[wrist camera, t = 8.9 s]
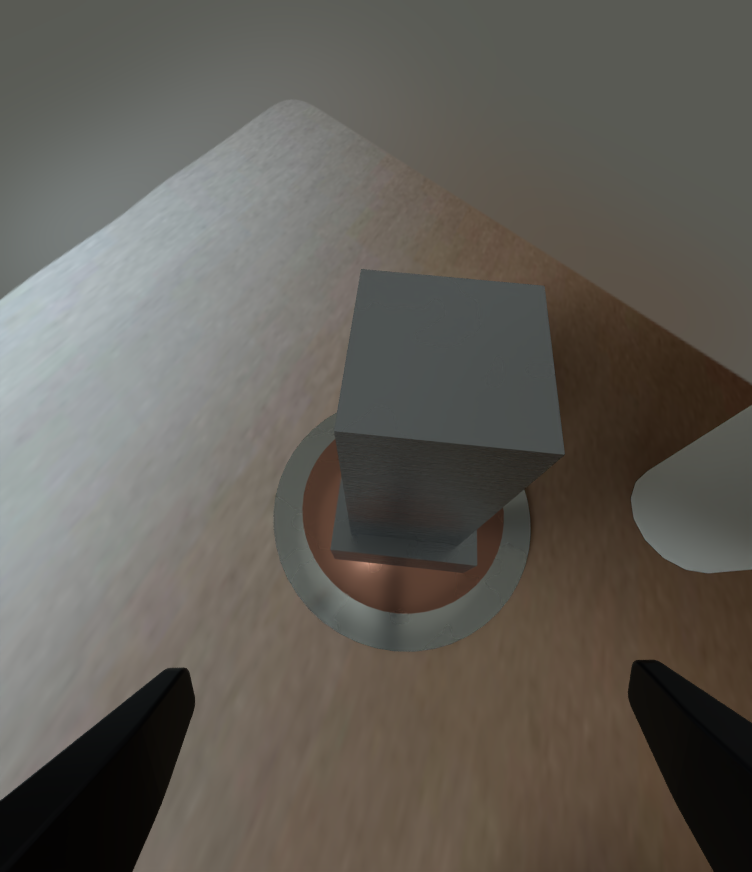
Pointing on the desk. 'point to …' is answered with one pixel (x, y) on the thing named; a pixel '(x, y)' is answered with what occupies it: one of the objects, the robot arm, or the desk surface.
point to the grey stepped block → (440, 415)
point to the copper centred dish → (387, 584)
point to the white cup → (702, 501)
